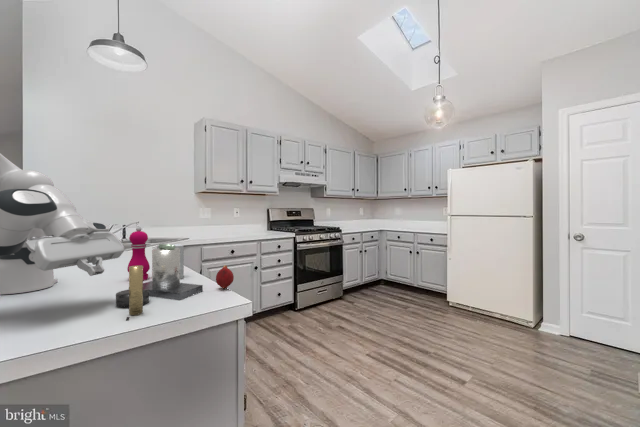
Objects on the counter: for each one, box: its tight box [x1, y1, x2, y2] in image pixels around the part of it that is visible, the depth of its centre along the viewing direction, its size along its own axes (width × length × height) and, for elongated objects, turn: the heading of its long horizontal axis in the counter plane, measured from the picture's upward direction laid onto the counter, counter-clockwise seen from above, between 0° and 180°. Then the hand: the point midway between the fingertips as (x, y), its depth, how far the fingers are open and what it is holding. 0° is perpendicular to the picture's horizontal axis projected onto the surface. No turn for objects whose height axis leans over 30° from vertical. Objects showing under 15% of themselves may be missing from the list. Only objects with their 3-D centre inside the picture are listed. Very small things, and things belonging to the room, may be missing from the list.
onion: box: [215, 264, 235, 289], centre depth 101 cm, size 6×6×8 cm
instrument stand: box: [125, 243, 204, 321], centre depth 87 cm, size 20×27×16 cm
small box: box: [156, 243, 185, 280], centre depth 114 cm, size 8×6×13 cm
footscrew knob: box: [115, 265, 150, 316], centre depth 81 cm, size 8×16×12 cm, turn 36°
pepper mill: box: [126, 226, 151, 282], centre depth 112 cm, size 7×7×20 cm
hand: (97, 273), depth 77 cm, fingers closed
